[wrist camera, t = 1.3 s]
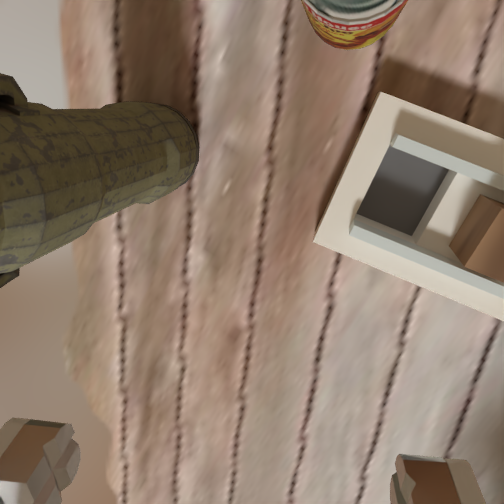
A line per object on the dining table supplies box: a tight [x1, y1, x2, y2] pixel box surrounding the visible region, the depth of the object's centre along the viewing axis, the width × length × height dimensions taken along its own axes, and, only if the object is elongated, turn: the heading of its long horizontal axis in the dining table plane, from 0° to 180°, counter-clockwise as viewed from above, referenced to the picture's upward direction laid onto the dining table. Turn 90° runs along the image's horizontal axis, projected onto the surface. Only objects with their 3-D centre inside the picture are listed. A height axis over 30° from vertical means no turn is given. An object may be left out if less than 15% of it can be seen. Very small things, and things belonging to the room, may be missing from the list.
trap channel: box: [313, 92, 504, 321], centre depth 35 cm, size 25×14×5 cm, turn 70°
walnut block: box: [449, 194, 504, 283], centre depth 32 cm, size 5×5×5 cm
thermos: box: [0, 73, 199, 288], centre depth 25 cm, size 9×12×35 cm
